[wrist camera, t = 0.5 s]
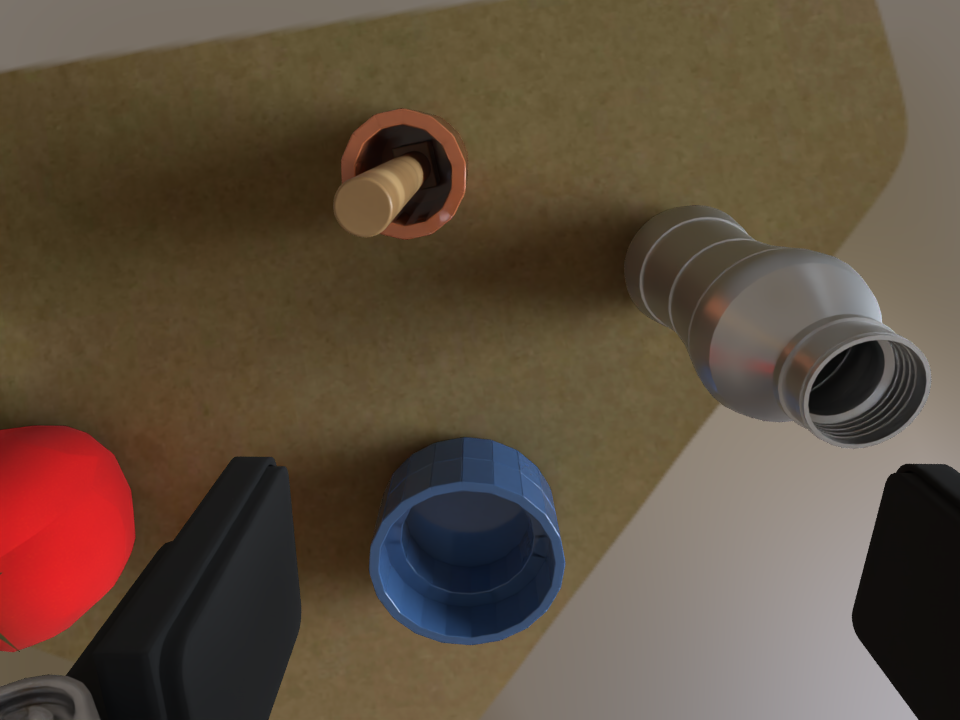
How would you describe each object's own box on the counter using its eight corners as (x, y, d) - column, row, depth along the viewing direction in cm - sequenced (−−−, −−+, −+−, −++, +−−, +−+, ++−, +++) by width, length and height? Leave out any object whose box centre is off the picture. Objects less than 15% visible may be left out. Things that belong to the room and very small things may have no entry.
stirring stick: (398, 146, 35) (318, 172, 17) (431, 139, 35) (385, 158, 17) (408, 188, 36) (341, 255, 18) (440, 181, 36) (405, 241, 18)
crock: (361, 124, 35) (324, 125, 27) (457, 102, 35) (452, 96, 26) (385, 220, 37) (358, 249, 29) (477, 201, 37) (478, 225, 28)
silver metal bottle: (751, 271, 38) (1019, 418, 19) (648, 333, 39) (805, 528, 21) (700, 175, 36) (941, 233, 17) (593, 244, 37) (711, 367, 19)
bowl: (363, 451, 42) (346, 502, 36) (537, 418, 41) (546, 465, 36) (405, 592, 46) (396, 658, 40) (565, 564, 45) (578, 627, 39)
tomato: (199, 455, 42) (103, 572, 31) (116, 599, 46) (5, 748, 35) (12, 357, 40) (-163, 446, 29) (-59, 516, 43) (-237, 649, 32)
